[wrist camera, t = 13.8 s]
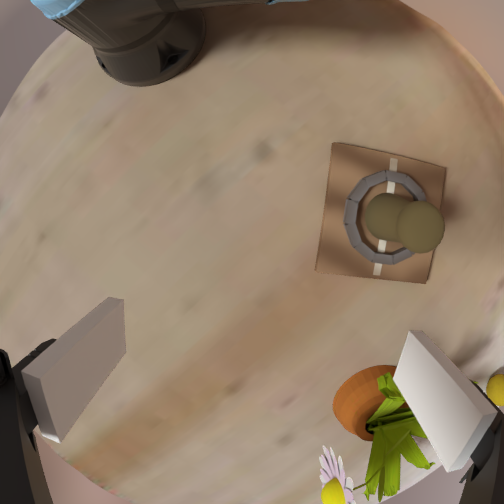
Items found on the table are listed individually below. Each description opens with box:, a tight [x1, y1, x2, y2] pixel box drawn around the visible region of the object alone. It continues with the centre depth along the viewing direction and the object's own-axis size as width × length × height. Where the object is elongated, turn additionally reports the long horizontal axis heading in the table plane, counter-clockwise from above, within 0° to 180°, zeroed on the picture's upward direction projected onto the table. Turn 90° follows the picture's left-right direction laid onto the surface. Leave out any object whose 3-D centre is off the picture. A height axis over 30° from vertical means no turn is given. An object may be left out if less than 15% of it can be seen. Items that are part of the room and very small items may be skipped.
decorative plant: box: [319, 365, 478, 504], centre depth 32 cm, size 27×24×25 cm
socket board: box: [315, 142, 445, 284], centre depth 37 cm, size 16×16×2 cm
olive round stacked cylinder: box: [365, 193, 445, 254], centre depth 32 cm, size 6×6×11 cm
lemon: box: [486, 374, 504, 406], centre depth 40 cm, size 6×6×8 cm
